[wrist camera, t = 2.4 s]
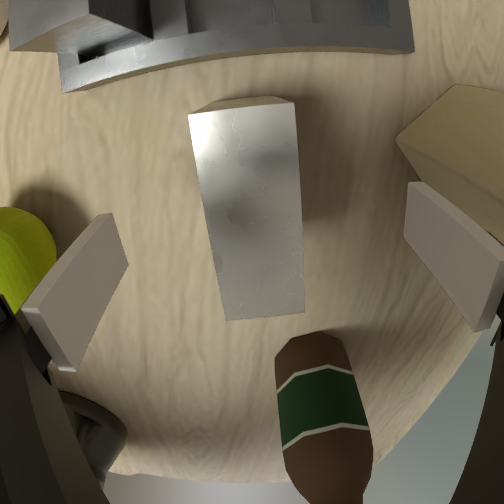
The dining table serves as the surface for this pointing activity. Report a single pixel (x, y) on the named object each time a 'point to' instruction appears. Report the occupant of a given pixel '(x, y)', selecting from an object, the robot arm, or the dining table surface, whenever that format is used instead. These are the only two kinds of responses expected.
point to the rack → (197, 32)
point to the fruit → (23, 254)
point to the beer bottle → (322, 421)
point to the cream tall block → (462, 152)
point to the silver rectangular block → (252, 203)
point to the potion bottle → (3, 14)
